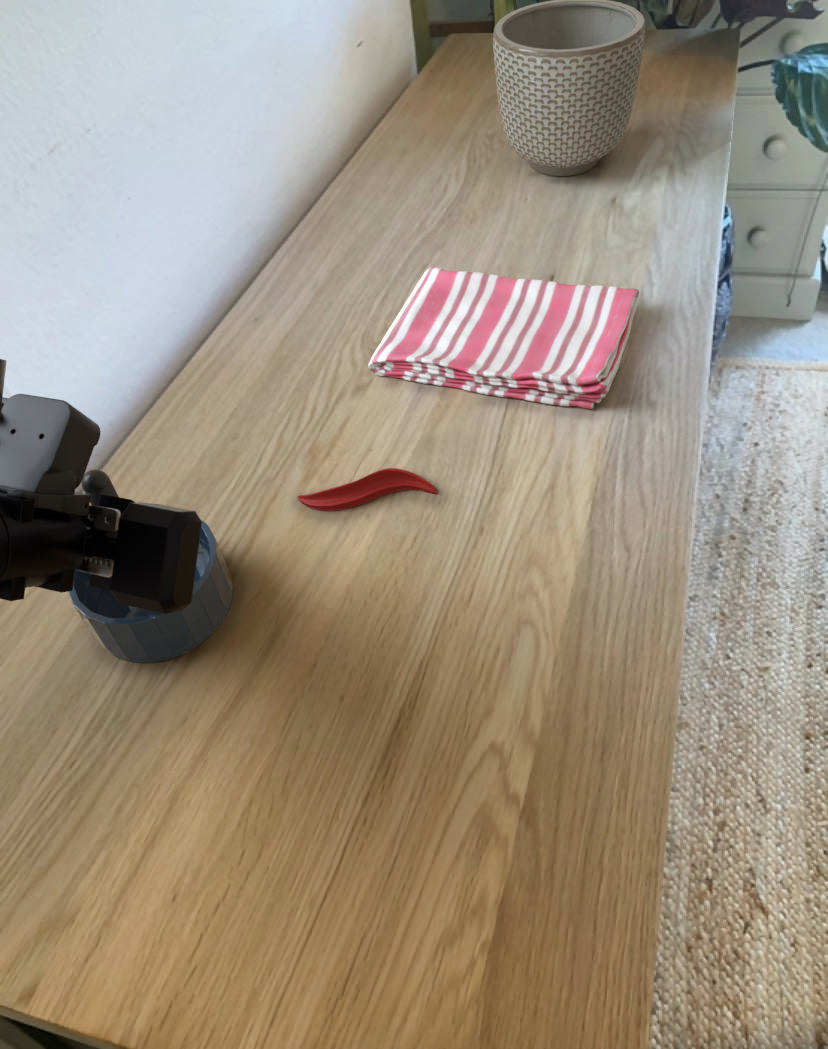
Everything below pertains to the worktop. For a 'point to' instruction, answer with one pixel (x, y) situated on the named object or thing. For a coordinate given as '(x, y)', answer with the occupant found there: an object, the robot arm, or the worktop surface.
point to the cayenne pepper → (366, 490)
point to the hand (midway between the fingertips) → (137, 530)
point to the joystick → (94, 486)
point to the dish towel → (509, 337)
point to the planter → (567, 80)
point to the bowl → (159, 631)
